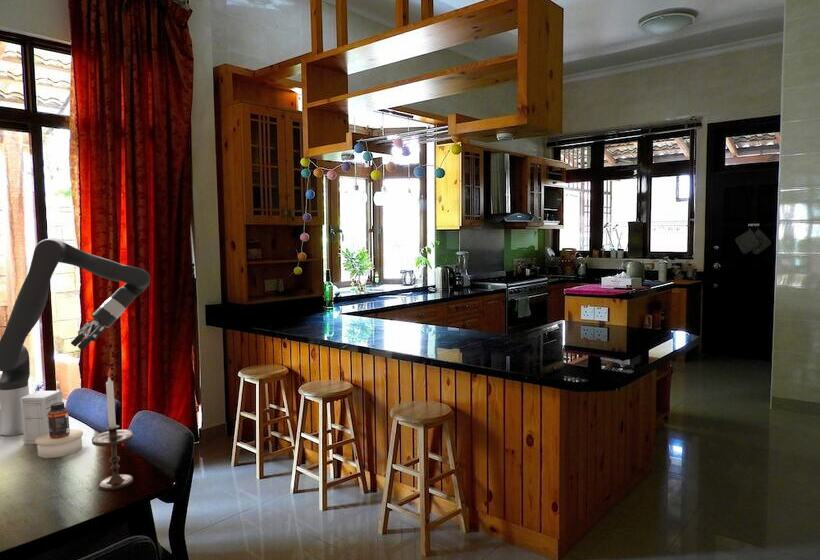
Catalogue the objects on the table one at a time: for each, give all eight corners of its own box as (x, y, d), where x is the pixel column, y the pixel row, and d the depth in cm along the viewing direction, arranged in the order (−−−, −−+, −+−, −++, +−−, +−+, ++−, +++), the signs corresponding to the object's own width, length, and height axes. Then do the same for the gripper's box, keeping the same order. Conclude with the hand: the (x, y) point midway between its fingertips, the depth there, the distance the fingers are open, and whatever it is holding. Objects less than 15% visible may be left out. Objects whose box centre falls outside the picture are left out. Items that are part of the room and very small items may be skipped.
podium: (27, 459, 189) (26, 444, 189) (49, 443, 203) (48, 430, 203) (72, 457, 190) (70, 442, 190) (91, 441, 204) (90, 428, 204)
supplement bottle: (73, 434, 198) (71, 401, 197) (57, 439, 193) (54, 406, 192) (62, 431, 201) (60, 400, 200) (45, 437, 195) (43, 404, 194)
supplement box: (66, 435, 212) (63, 390, 210) (48, 444, 203) (44, 397, 201) (42, 434, 213) (38, 390, 211) (23, 444, 204) (19, 397, 202)
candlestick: (143, 482, 170) (135, 365, 167) (104, 495, 162) (96, 373, 159) (126, 472, 177) (119, 360, 174) (88, 485, 169) (80, 367, 166)
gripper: (94, 304, 220) (62, 337, 212) (107, 307, 209) (73, 343, 202) (110, 316, 224) (78, 350, 217) (123, 320, 214) (90, 355, 207)
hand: (76, 346), depth 209 cm, fingers open, 8 cm apart
